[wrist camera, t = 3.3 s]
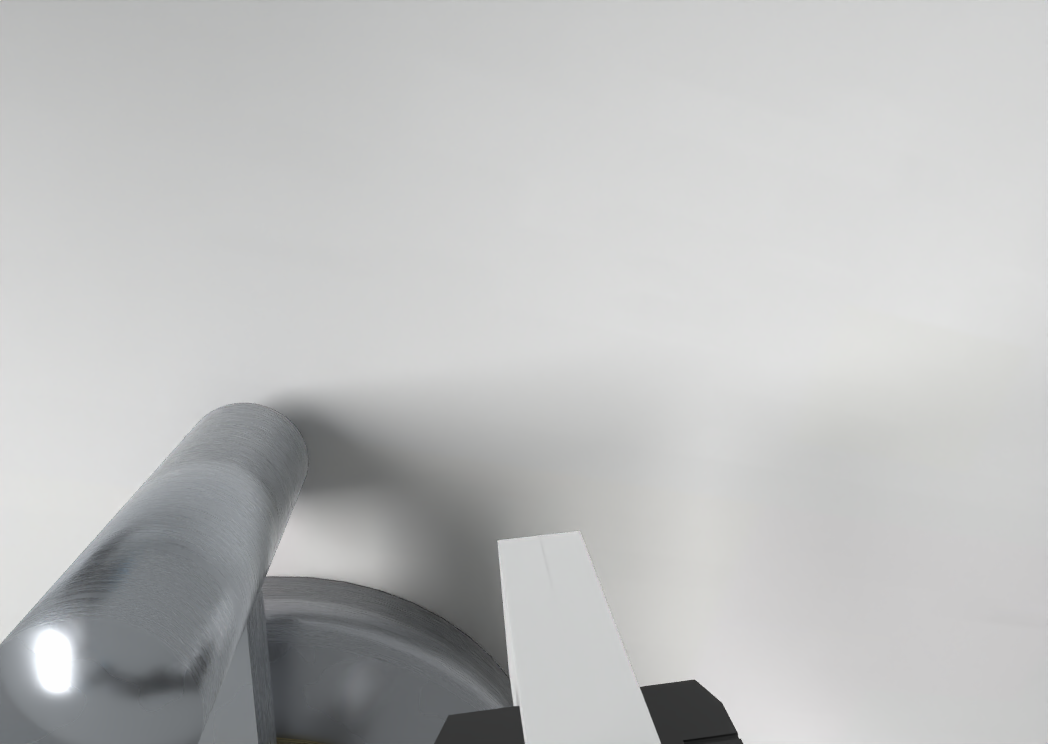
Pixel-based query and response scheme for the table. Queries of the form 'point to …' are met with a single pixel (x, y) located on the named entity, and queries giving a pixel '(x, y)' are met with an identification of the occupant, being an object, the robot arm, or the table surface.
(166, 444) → the table surface
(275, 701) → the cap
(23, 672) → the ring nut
